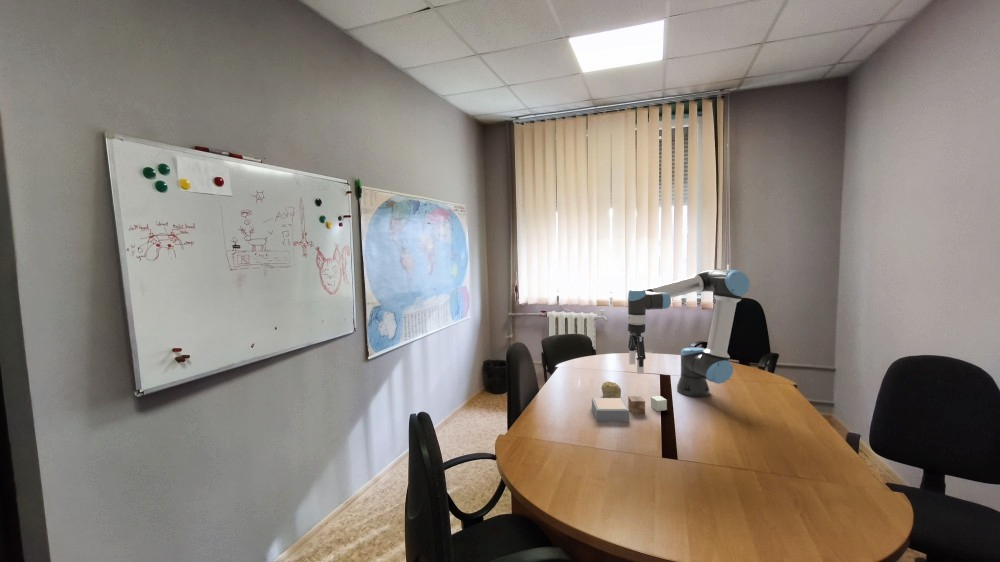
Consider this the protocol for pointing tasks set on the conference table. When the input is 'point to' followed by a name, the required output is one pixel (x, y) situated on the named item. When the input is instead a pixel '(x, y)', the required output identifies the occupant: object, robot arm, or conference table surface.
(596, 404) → the plinth
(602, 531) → the conference table surface
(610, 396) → the decorative item
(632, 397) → the walnut cube
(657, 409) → the sage cube
